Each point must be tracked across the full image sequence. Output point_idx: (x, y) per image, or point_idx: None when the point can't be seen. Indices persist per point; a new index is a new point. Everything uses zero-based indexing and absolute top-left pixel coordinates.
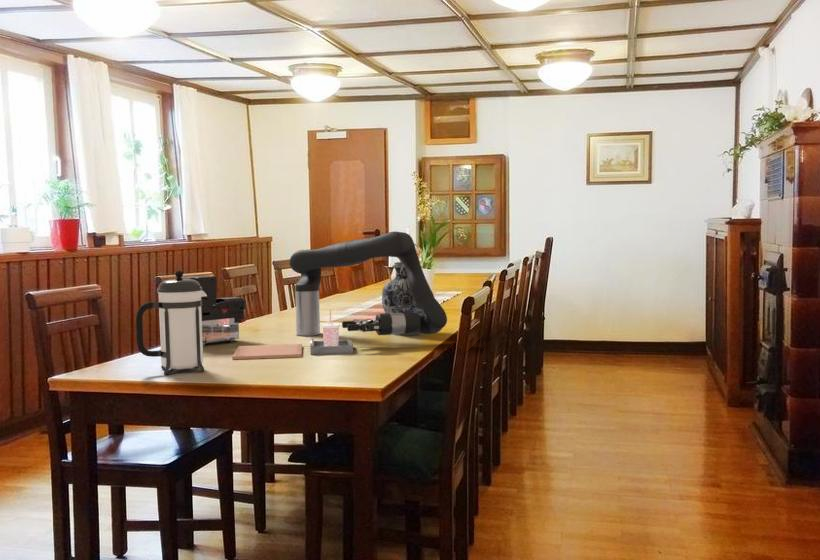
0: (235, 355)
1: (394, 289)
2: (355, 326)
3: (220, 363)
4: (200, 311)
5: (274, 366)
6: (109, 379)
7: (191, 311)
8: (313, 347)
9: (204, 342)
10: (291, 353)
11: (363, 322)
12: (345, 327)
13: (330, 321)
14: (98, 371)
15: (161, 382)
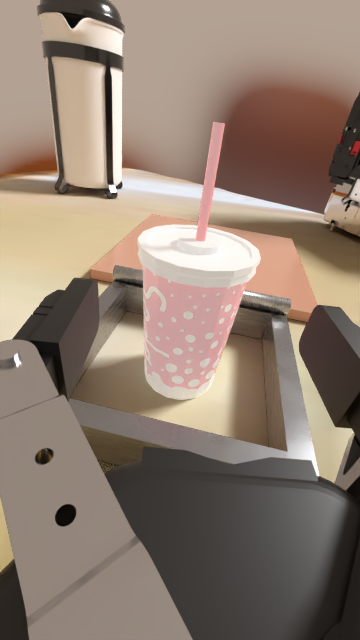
0: (163, 217)
1: None
2: (28, 327)
3: (123, 210)
4: (62, 71)
5: (7, 229)
6: None
7: (47, 66)
8: (113, 281)
9: (333, 223)
10: (122, 260)
11: (40, 401)
12: (307, 362)
13: (198, 220)
14: (147, 176)
15: (24, 175)
